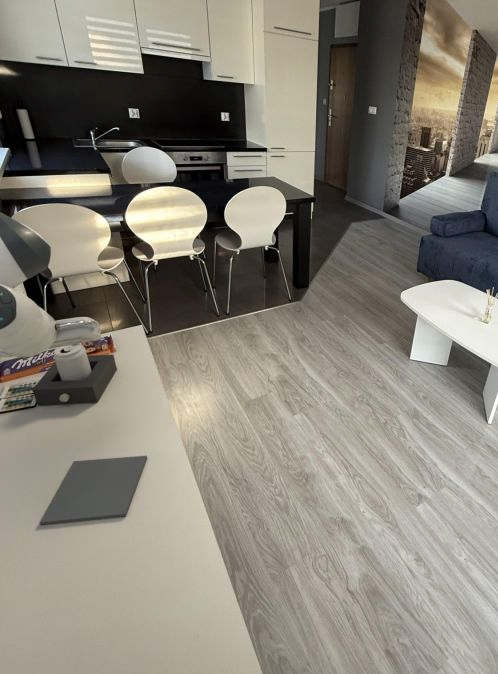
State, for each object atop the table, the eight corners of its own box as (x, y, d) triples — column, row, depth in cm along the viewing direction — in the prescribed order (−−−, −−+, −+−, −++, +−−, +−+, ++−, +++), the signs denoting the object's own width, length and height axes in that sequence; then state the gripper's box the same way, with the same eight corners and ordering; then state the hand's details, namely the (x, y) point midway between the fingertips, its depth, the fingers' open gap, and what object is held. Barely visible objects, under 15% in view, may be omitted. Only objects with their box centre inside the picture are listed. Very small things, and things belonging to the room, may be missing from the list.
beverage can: (58, 391, 99) (45, 352, 94) (80, 375, 105) (68, 338, 100) (79, 397, 98) (67, 358, 93) (100, 381, 104) (90, 343, 98)
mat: (40, 525, 71) (39, 522, 70) (74, 463, 82) (73, 461, 82) (125, 516, 73) (125, 513, 73) (147, 458, 84) (146, 455, 84)
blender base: (35, 408, 94) (29, 392, 92) (64, 371, 106) (59, 356, 104) (95, 405, 96) (91, 389, 94) (117, 369, 109) (113, 354, 106)
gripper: (91, 304, 75) (105, 322, 87) (-52, 324, 67) (-15, 341, 79) (95, 336, 74) (109, 350, 86) (-51, 361, 65) (-13, 372, 77)
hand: (49, 346), depth 82 cm, fingers open, 8 cm apart
